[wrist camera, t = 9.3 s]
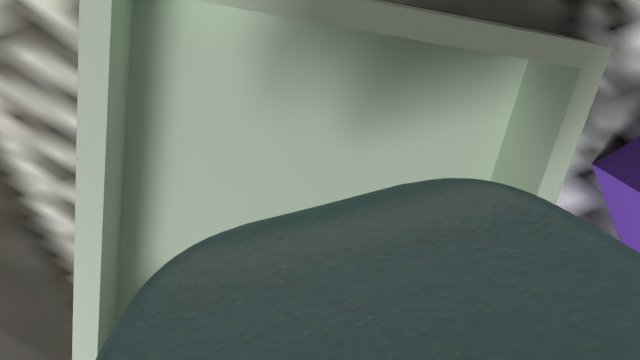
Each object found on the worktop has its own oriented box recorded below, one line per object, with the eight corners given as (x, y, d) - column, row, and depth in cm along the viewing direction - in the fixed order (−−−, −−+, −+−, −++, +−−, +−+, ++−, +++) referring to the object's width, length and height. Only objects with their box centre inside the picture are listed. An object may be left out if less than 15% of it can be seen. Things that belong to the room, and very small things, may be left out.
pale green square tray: (439, 360, 26) (472, 426, 22) (97, 342, 23) (71, 415, 19) (545, 31, 20) (613, 47, 17) (113, -51, 17) (80, -53, 14)
